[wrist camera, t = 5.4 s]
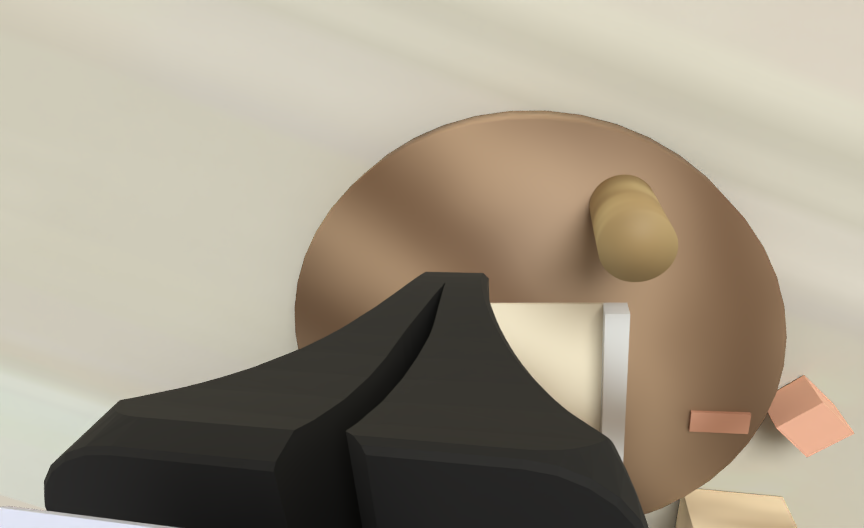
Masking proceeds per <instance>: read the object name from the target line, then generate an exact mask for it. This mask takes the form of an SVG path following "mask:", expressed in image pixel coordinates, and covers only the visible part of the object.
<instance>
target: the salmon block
mask: <svg viewBox="0 0 864 528" xmlns="http://www.w3.org/2000/svg"><path fill="white" fill-rule="evenodd" d="M768 414H769V416H770V418H771V419H772V421H773V423H774V425H775V427H776V428H777V429H778V430H779V431H780V432H781V433H782V434H783V435H784V436H785V437H786V438H787V439H788V440H789V441H790V442H792V443H793V444H794V445H795V446H796V447H797V448H798V449H799V450H800V451H801V452H802V453H803V454H804V455H805V456H806V457H809V456H811V455H813V454H815V453H817V452H819V451H821V450H823V449H825V448H827V447H829V446H830V445H832V444H834V443H836V442H838V441H840V440H842V439H844V438H846V437H848V436H850V435H852V434H854V432H853V431H852V429H851V428H850V426H849V425H848V424H847V422H846V421H845V419H844V418H843V417H842V415H841V414H840V412H839V411H838V410H837V408H836V407H835V405H834V404H833V403H832V402H831V401H830V400H829V399H828V398H827V397H826V396H825V395H824V394H823V393H822V392H821V391H820V390H819V389H818V388H817V387H816V386H815V385H814V384H813V383H811V382H810V381H809V380H808V379H807V378H806V377H805V376H802V377H800V378H798V379H797V380H795V381H793V382H791V383H790V384H788V385H786V386H784V387H783V388H781V389H779V390H777V392H776V395H775V397H774V399H773V401H772V403H771V406H770V408H769V410H768Z"/></svg>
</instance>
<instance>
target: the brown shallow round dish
mask: <svg viewBox="0 0 864 528" xmlns="http://www.w3.org/2000/svg"><path fill="white" fill-rule="evenodd" d="M424 272H462V273H484V274H485V275H486V276H487V277H488V278H489V300H490V304H491V307H492V309H493V312H494V315H495V317H496V320H497V322H498V324H499V326H500V329H501V331H502V332H503V334H504V336H505V338H506V340H507V342H508V343H509V345H510V347H511V348H512V350H513V352H514V353H515V355H516V356H517V357H518V359H519V360H520V362H521V363H522V365H523V366H524V367H525V368H526V370H527V371H528V372H529V373H530V375H531V376H532V377H533V378H534V379H535V380H536V381H537V383H538V384H539V385H540V386H541V387H542V388H543V389H544V390H545V391H546V392H547V393H548V394H549V395H550V396H551V397H552V398H553V399H554V400H555V401H557V402H558V403H559V404H560V405H562V406H563V407H564V408H565V409H566V410H568V411H569V412H570V413H572V414H573V415H575V416H576V417H578V418H579V419H581V420H582V421H584V422H585V423H587V424H588V425H590V426H591V427H593V428H594V429H596V430H598V431H599V432H601V433H602V434H604V435H605V436H607V437H608V438H609V439H610V440H611V441H612V442H613V443H614V445H615V447H616V449H617V451H618V453H619V455H620V457H621V459H622V462H623V464H624V466H625V468H626V470H627V472H628V474H629V477H630V479H631V481H632V484H633V486H634V488H635V491H636V493H637V496H638V498H639V501H640V504H641V507H642V510H643V512H644V514H647V513H650V512H652V511H655V510H658V509H661V508H663V507H665V506H667V505H669V504H671V503H673V502H675V501H677V500H679V499H681V498H683V497H685V496H687V495H688V494H690V493H691V492H693V491H694V490H696V489H697V488H699V487H701V486H702V485H704V484H705V483H707V482H708V481H710V480H711V479H712V478H713V477H714V476H715V475H717V474H718V473H719V472H720V471H721V470H723V469H724V468H725V467H726V466H727V465H728V464H730V463H731V462H732V460H733V459H734V458H735V457H736V456H737V455H738V454H739V453H740V452H741V450H742V449H743V448H744V447H745V446H746V445H747V444H748V443H749V441H750V440H751V438H752V437H753V435H754V434H755V432H756V431H757V429H758V428H759V426H760V425H761V423H762V422H763V420H764V419H765V416H766V414H767V412H768V410H769V408H770V406H771V403H772V401H773V399H774V397H775V395H776V392H777V388H778V385H779V381H780V378H781V374H782V370H783V367H784V358H785V348H786V338H787V336H786V322H785V309H784V303H783V300H782V296H781V292H780V288H779V284H778V280H777V276H776V274H775V272H774V269H773V267H772V265H771V263H770V260H769V258H768V256H767V254H766V251H765V249H764V247H763V245H762V244H761V242H760V241H759V239H758V238H757V236H756V235H755V233H754V232H753V230H752V229H751V227H750V226H749V224H748V223H747V221H746V220H745V218H744V217H743V216H742V215H741V214H740V213H739V212H738V210H737V209H736V208H735V207H734V206H733V205H732V204H731V203H730V202H729V201H728V200H727V198H726V197H725V196H724V195H723V194H722V193H721V192H720V191H719V190H718V189H717V188H716V187H715V185H714V184H713V183H712V182H711V181H710V180H709V179H708V178H707V177H706V176H705V175H704V174H702V173H701V172H700V171H699V170H697V169H696V168H695V167H694V166H692V165H691V164H690V163H689V162H687V161H686V160H685V159H684V158H682V157H681V156H680V155H678V154H676V153H675V152H673V151H671V150H670V149H668V148H666V147H664V146H663V145H661V144H659V143H658V142H656V141H654V140H652V139H651V138H649V137H646V136H644V135H642V134H639V133H637V132H634V131H632V130H629V129H627V128H625V127H622V126H620V125H617V124H614V123H610V122H606V121H602V120H599V119H595V118H591V117H587V116H583V115H577V114H569V113H560V112H552V111H508V112H501V113H494V114H487V115H480V116H474V117H471V118H467V119H464V120H460V121H457V122H453V123H450V124H446V125H443V126H441V127H438V128H436V129H434V130H432V131H429V132H427V133H425V134H422V135H420V136H418V137H416V138H413V139H412V140H410V141H409V142H407V143H405V144H404V145H402V146H400V147H399V148H397V149H396V150H394V151H392V152H391V153H389V154H388V155H386V156H385V157H384V158H383V159H382V160H380V161H379V162H378V163H377V164H376V165H374V166H373V167H372V168H371V169H370V170H368V171H367V172H366V173H365V174H364V175H363V176H361V177H360V178H359V179H358V180H357V181H356V182H355V183H354V184H353V185H352V186H351V187H350V188H349V189H348V190H347V191H346V192H345V194H344V195H343V196H342V197H341V198H340V199H339V200H338V201H337V203H336V204H335V205H334V206H333V207H332V208H331V210H330V211H329V213H328V214H327V216H326V217H325V219H324V220H323V222H322V223H321V225H320V227H319V228H318V230H317V231H316V233H315V235H314V237H313V240H312V242H311V244H310V246H309V248H308V251H307V253H306V255H305V258H304V261H303V265H302V269H301V272H300V276H299V279H298V284H297V293H296V301H295V331H296V338H297V343H298V349H301V348H303V347H305V346H307V345H309V344H312V343H314V342H316V341H318V340H320V339H322V338H324V337H326V336H328V335H330V334H331V333H333V332H335V331H337V330H339V329H340V328H342V327H344V326H346V325H347V324H349V323H350V322H352V321H354V320H355V319H357V318H358V317H360V316H361V315H363V314H365V313H366V312H368V311H369V310H371V309H373V308H374V307H376V306H377V305H379V304H380V303H381V302H383V301H384V300H386V299H387V298H388V297H390V296H391V295H393V294H394V293H396V292H397V291H398V290H400V289H401V288H402V287H404V286H405V285H407V284H408V283H409V282H411V281H412V280H414V279H415V278H416V277H418V276H419V275H421V274H423V273H424Z"/></svg>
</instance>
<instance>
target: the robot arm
mask: <svg viewBox="0 0 864 528" xmlns="http://www.w3.org/2000/svg"><path fill="white" fill-rule="evenodd" d="M44 498H45V507H46V510H47V511H44V510H37V509H29V508H21V507H13V506H3V507H0V528H648V525H647V522H646V519H645V516H644V512H643V510H642V507H641V504H640V501H639V498H638V496H637V493H636V491H635V488H634V486H633V484H632V481H631V479H630V477H629V474H628V472H627V470H626V468H625V466H624V464H623V462H622V459H621V457H620V455H619V453H618V451H617V449H616V447H615V445H614V443H613V442H612V441H611V440H610V439H609V438H608V437H607V436H605V435H604V434H602V433H601V432H599V431H598V430H596V429H594V428H593V427H591V426H590V425H588V424H587V423H585V422H584V421H582V420H581V419H579V418H578V417H576V416H575V415H573V414H572V413H570V412H569V411H568V410H566V409H565V408H564V407H563V406H562V405H560V404H559V403H558V402H557V401H555V400H554V399H553V398H552V397H551V396H550V395H549V394H548V393H547V392H546V391H545V390H544V389H543V388H542V387H541V386H540V385H539V384H538V383H537V381H536V380H535V379H534V378H533V377H532V376H531V375H530V373H529V372H528V371H527V370H526V368H525V367H524V366H523V365H522V363H521V362H520V360H519V359H518V357H517V356H516V355H515V353H514V352H513V350H512V348H511V347H510V345H509V343H508V342H507V340H506V338H505V336H504V334H503V332H502V331H501V329H500V326H499V324H498V322H497V320H496V317H495V315H494V312H493V309H492V307H491V304H490V300H489V278H488V277H487V276H486V275H485V274H484V273H462V272H424V273H423V274H421V275H419V276H418V277H416V278H415V279H414V280H412V281H411V282H409V283H408V284H407V285H405V286H404V287H402V288H401V289H400V290H398V291H397V292H396V293H394V294H393V295H391V296H390V297H388V298H387V299H386V300H384V301H383V302H381V303H380V304H379V305H377V306H376V307H374V308H373V309H371V310H369V311H368V312H366V313H365V314H363V315H361V316H360V317H358V318H357V319H355V320H354V321H352V322H350V323H349V324H347V325H346V326H344V327H342V328H340V329H339V330H337V331H335V332H333V333H331V334H330V335H328V336H326V337H324V338H322V339H320V340H318V341H316V342H314V343H312V344H309V345H307V346H305V347H303V348H301V349H299V350H296V351H294V352H291V353H289V354H286V355H284V356H281V357H279V358H276V359H274V360H271V361H268V362H266V363H263V364H261V365H258V366H256V367H253V368H250V369H247V370H244V371H240V372H237V373H234V374H231V375H228V376H224V377H221V378H217V379H214V380H210V381H207V382H203V383H199V384H195V385H191V386H187V387H183V388H178V389H173V390H169V391H164V392H159V393H154V394H150V395H145V396H140V397H135V398H130V399H124V400H120V401H119V402H117V403H116V404H115V405H114V406H113V407H112V408H111V409H110V410H109V411H108V412H107V413H106V414H105V415H104V416H103V417H101V418H100V419H99V420H98V421H97V422H96V423H95V424H94V425H93V426H92V427H91V428H90V429H89V430H88V431H87V432H86V433H84V434H83V435H82V436H81V437H80V438H79V439H78V440H77V441H76V442H75V443H74V444H73V445H72V446H71V447H70V448H69V449H67V450H66V451H65V452H64V453H63V454H62V455H61V456H60V457H59V458H58V459H57V460H56V461H55V462H54V463H53V464H52V465H51V466H50V468H49V471H48V473H47V475H46V478H45V480H44Z"/></svg>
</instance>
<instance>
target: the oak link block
mask: <svg viewBox="0 0 864 528" xmlns="http://www.w3.org/2000/svg"><path fill="white" fill-rule="evenodd" d="M675 528H797V526H796V524H795V522H794V520H793V518H792V516H791V513H790V511H789V509H788V507H787V505H786V503H785V501H784V499H783V497H777V496H767V495H756V494H746V493H735V492H724V491H714V490H703V489H696V490H694V491H693V492H691V493H690V494H688V495H687V496H685V497H683V498H681V499H680V503H679V509H678V515H677V521H676V527H675Z"/></svg>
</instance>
